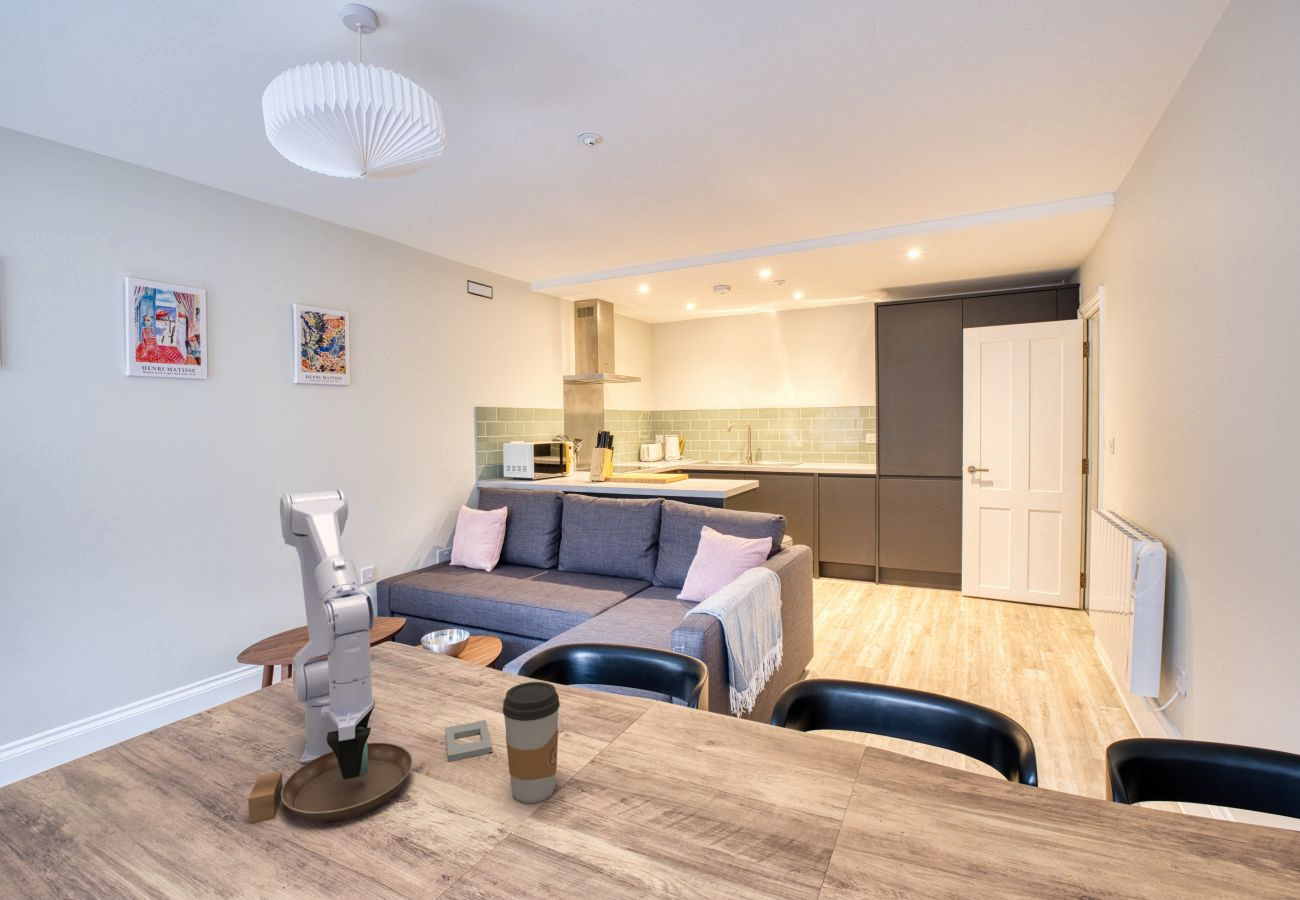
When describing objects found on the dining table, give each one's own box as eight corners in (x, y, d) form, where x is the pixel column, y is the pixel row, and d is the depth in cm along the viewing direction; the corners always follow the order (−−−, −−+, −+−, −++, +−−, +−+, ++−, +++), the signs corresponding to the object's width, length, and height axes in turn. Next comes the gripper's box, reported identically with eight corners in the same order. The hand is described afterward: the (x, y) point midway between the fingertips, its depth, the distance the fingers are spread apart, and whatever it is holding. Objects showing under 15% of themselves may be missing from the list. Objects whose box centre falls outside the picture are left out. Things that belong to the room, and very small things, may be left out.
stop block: (259, 799, 90) (258, 775, 90) (283, 794, 91) (282, 771, 91) (249, 823, 84) (248, 798, 84) (274, 818, 85) (273, 793, 85)
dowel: (354, 763, 94) (352, 725, 94) (373, 767, 93) (372, 728, 93) (336, 777, 90) (334, 737, 90) (356, 780, 89) (354, 740, 89)
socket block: (445, 733, 108) (445, 727, 108) (486, 725, 111) (485, 719, 111) (448, 761, 99) (448, 755, 99) (492, 752, 101) (492, 746, 101)
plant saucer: (364, 838, 81) (363, 816, 81) (251, 824, 85) (250, 803, 84) (435, 765, 99) (434, 747, 98) (339, 756, 102) (338, 738, 102)
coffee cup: (550, 811, 85) (547, 707, 85) (495, 805, 87) (491, 702, 87) (569, 777, 94) (567, 682, 93) (519, 772, 95) (516, 678, 95)
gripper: (326, 662, 96) (330, 746, 97) (312, 700, 83) (316, 797, 83) (375, 655, 99) (378, 737, 99) (369, 691, 85) (372, 785, 86)
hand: (353, 764), depth 92 cm, fingers open, 6 cm apart
